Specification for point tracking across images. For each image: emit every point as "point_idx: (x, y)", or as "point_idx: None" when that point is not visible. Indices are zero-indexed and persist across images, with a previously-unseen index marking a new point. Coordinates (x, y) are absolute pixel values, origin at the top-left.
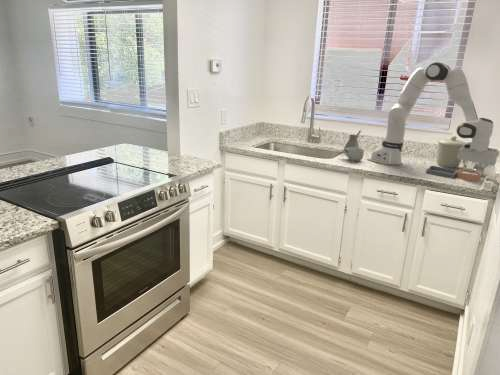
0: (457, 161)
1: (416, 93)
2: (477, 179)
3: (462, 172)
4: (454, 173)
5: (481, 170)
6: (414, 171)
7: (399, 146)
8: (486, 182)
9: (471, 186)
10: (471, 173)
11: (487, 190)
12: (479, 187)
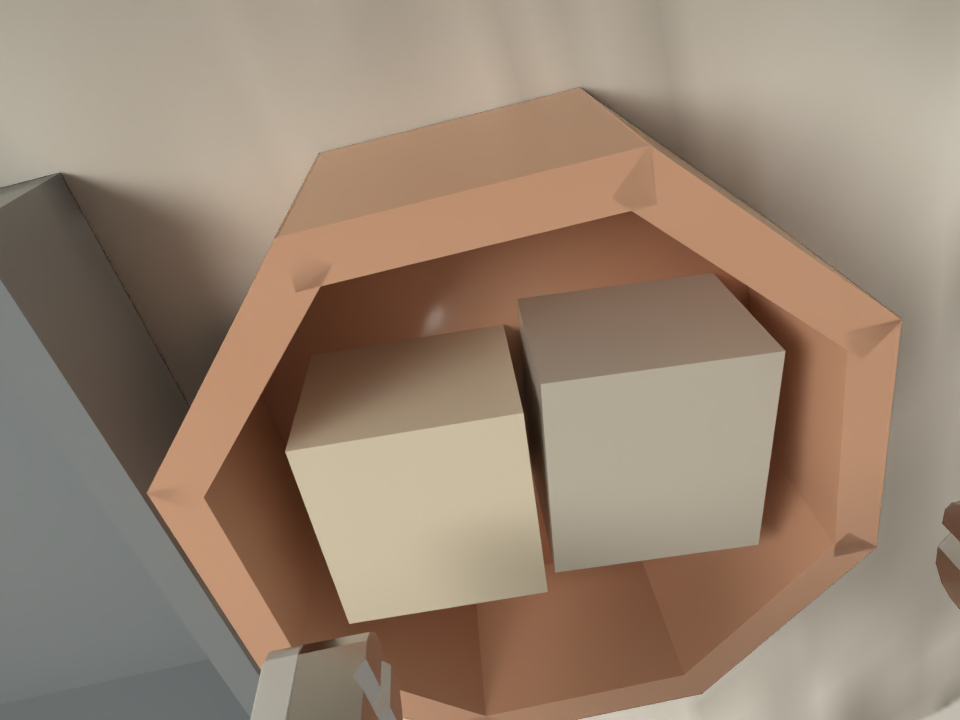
0: None
1: None
2: None
3: (363, 597)
4: (230, 660)
5: (957, 585)
6: None
7: None
8: (932, 223)
9: (692, 710)
10: (585, 482)
11: (925, 693)
12: (807, 664)
